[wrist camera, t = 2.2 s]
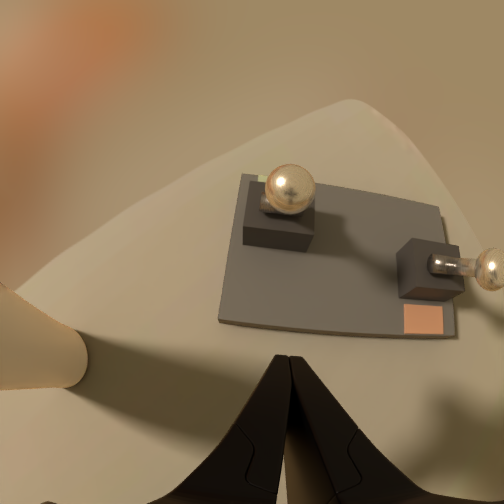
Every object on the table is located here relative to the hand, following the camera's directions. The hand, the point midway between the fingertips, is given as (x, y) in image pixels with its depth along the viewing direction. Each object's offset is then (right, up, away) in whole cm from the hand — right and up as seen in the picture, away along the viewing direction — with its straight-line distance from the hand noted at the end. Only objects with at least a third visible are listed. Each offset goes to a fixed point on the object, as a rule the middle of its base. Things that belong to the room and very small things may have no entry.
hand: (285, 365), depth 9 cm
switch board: (+7, +3, +16) cm, 18 cm away
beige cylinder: (-17, -5, +12) cm, 21 cm away
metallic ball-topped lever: (+1, +7, +13) cm, 15 cm away
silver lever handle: (+14, +3, +12) cm, 18 cm away
